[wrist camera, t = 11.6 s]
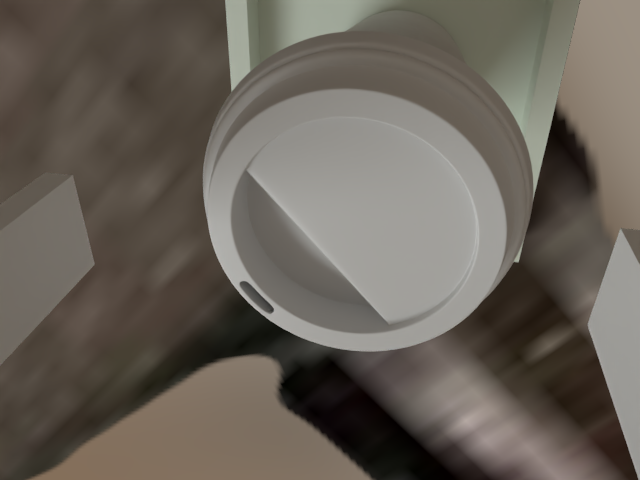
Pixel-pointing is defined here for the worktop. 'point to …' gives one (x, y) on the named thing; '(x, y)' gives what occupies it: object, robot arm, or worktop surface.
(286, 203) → the coffee cup
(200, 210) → the worktop surface
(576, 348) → the worktop surface
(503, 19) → the tray
